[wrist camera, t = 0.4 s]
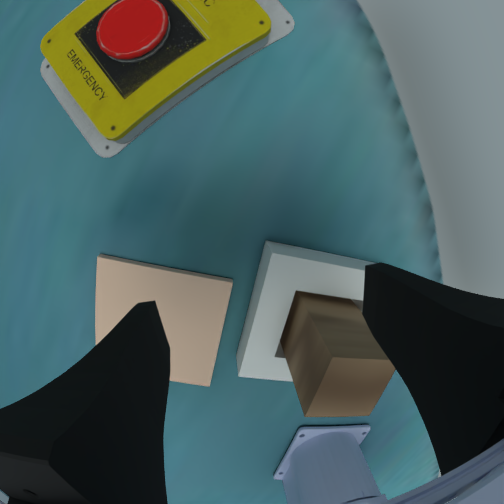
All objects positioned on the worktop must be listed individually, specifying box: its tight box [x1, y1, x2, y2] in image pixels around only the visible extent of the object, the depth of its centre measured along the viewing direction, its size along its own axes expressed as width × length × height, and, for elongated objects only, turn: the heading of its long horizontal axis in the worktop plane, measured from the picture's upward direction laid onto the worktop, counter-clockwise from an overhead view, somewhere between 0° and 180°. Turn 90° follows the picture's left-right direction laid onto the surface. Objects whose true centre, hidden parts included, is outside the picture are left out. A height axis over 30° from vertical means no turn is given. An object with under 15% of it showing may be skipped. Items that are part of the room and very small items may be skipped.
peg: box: [280, 290, 396, 417], centre depth 18 cm, size 4×4×8 cm
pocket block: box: [236, 240, 375, 381], centre depth 21 cm, size 9×9×2 cm
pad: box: [95, 254, 233, 387], centre depth 21 cm, size 9×9×1 cm
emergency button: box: [40, 0, 295, 157], centre depth 14 cm, size 9×4×15 cm
